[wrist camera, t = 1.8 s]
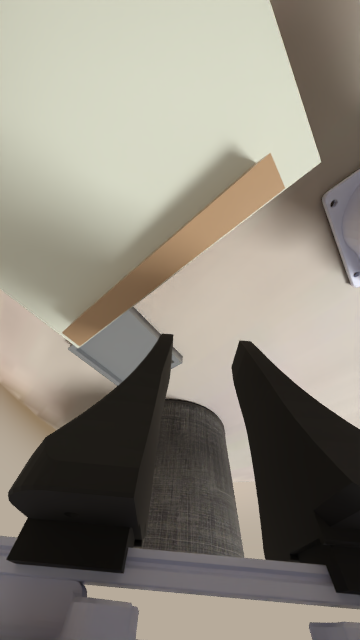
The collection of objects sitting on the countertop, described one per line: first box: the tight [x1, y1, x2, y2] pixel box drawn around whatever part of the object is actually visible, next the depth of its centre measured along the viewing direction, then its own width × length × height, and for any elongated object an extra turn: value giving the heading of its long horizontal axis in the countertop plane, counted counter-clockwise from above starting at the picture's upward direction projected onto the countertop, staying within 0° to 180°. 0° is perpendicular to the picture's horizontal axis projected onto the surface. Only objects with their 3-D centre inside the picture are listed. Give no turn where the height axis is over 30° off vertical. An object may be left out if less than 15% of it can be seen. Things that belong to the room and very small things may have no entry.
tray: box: [68, 307, 183, 386], centre depth 23 cm, size 10×10×1 cm
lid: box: [0, 0, 321, 348], centre depth 8 cm, size 15×19×2 cm
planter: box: [134, 400, 244, 558], centre depth 26 cm, size 18×18×16 cm
